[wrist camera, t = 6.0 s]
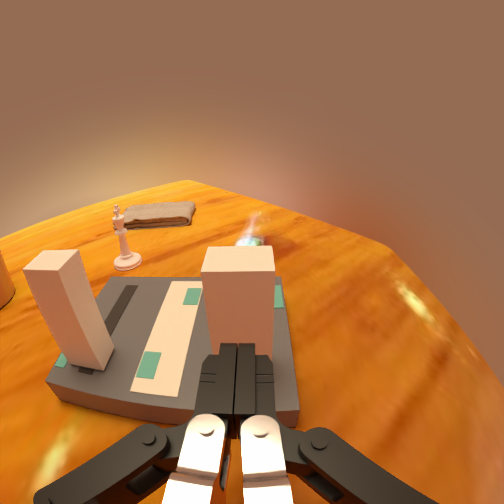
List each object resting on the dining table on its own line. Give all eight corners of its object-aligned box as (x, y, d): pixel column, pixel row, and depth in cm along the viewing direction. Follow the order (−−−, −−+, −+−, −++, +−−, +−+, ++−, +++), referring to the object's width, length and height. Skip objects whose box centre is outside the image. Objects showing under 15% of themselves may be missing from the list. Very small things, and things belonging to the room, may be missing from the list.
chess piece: (145, 255, 45) (135, 198, 41) (137, 270, 41) (124, 209, 36) (120, 256, 45) (108, 201, 40) (110, 271, 41) (95, 212, 36)
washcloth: (128, 214, 66) (126, 203, 65) (197, 209, 67) (195, 197, 66) (112, 233, 55) (109, 220, 54) (191, 228, 57) (189, 213, 55)
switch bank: (295, 427, 19) (300, 408, 17) (59, 399, 19) (44, 379, 18) (279, 296, 35) (280, 275, 33) (117, 295, 35) (111, 275, 34)
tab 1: (103, 370, 20) (57, 270, 15) (69, 363, 20) (22, 269, 15) (114, 346, 22) (78, 249, 18) (81, 341, 22) (43, 250, 18)
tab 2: (270, 382, 20) (275, 270, 15) (217, 382, 20) (200, 271, 15) (269, 354, 22) (271, 245, 18) (220, 354, 22) (208, 246, 18)
